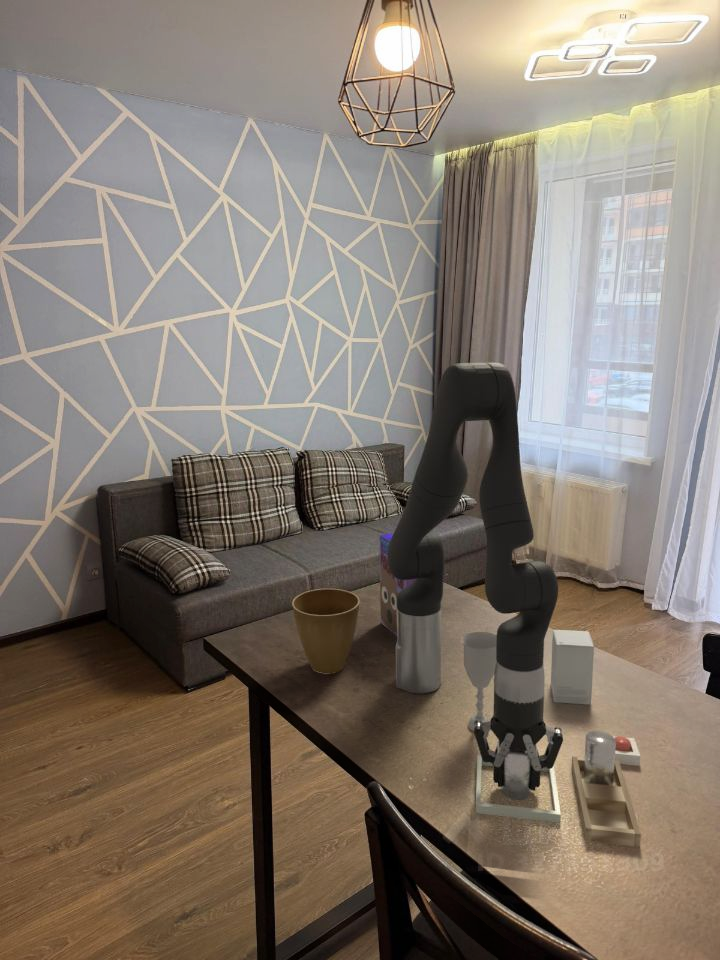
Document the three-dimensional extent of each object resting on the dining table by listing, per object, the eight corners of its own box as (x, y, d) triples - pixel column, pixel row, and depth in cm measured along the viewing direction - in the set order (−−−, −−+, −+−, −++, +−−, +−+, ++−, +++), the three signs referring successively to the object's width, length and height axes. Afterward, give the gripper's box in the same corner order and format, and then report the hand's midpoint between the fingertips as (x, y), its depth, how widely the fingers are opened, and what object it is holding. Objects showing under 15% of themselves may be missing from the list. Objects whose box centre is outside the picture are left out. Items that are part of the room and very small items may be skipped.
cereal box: (380, 623, 170) (378, 534, 165) (397, 619, 172) (395, 532, 167) (414, 650, 154) (413, 554, 149) (431, 646, 156) (431, 550, 151)
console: (607, 768, 111) (608, 753, 110) (603, 750, 115) (603, 735, 115) (639, 771, 110) (640, 755, 109) (633, 753, 114) (634, 738, 114)
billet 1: (501, 801, 103) (502, 756, 101) (501, 782, 107) (502, 738, 105) (531, 804, 102) (532, 759, 100) (529, 785, 106) (531, 741, 104)
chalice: (475, 743, 118) (476, 652, 115) (453, 725, 124) (453, 637, 120) (506, 732, 122) (508, 642, 118) (484, 714, 127) (485, 628, 124)
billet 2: (585, 791, 103) (587, 746, 102) (581, 773, 108) (583, 729, 106) (615, 794, 103) (618, 749, 101) (610, 776, 107) (613, 732, 105)
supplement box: (591, 705, 129) (594, 646, 127) (553, 702, 131) (555, 644, 128) (586, 686, 137) (589, 630, 134) (550, 683, 138) (552, 628, 135)
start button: (614, 757, 111) (615, 744, 111) (611, 748, 114) (612, 735, 113) (630, 758, 111) (631, 746, 110) (627, 749, 113) (628, 737, 113)
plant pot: (283, 677, 144) (279, 609, 140) (313, 647, 157) (310, 585, 154) (345, 689, 138) (343, 618, 135) (371, 657, 152) (369, 592, 148)
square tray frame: (475, 819, 100) (475, 805, 99) (477, 768, 112) (477, 755, 111) (560, 829, 97) (560, 814, 97) (552, 775, 109) (553, 762, 109)
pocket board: (584, 847, 94) (585, 828, 93) (571, 773, 110) (572, 756, 109) (639, 853, 92) (641, 834, 92) (617, 777, 108) (618, 760, 108)
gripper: (471, 697, 98) (470, 796, 102) (570, 704, 95) (565, 806, 99) (472, 672, 105) (471, 766, 109) (564, 678, 103) (560, 774, 106)
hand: (516, 785), depth 104 cm, fingers closed on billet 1, 4 cm apart
